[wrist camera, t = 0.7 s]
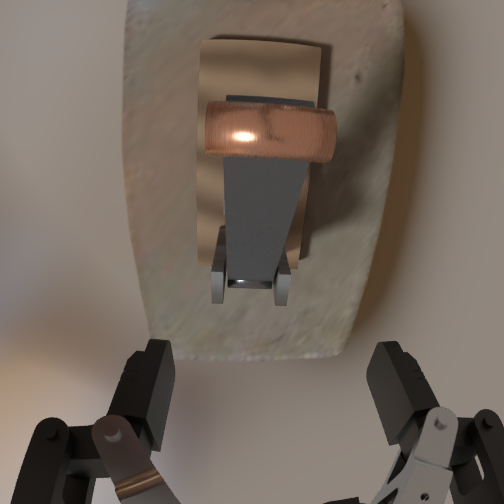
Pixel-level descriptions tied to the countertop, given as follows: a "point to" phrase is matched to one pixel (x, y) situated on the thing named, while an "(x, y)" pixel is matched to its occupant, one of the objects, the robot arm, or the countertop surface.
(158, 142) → the countertop surface
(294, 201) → the lever
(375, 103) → the countertop surface
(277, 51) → the cracker base
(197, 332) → the countertop surface
